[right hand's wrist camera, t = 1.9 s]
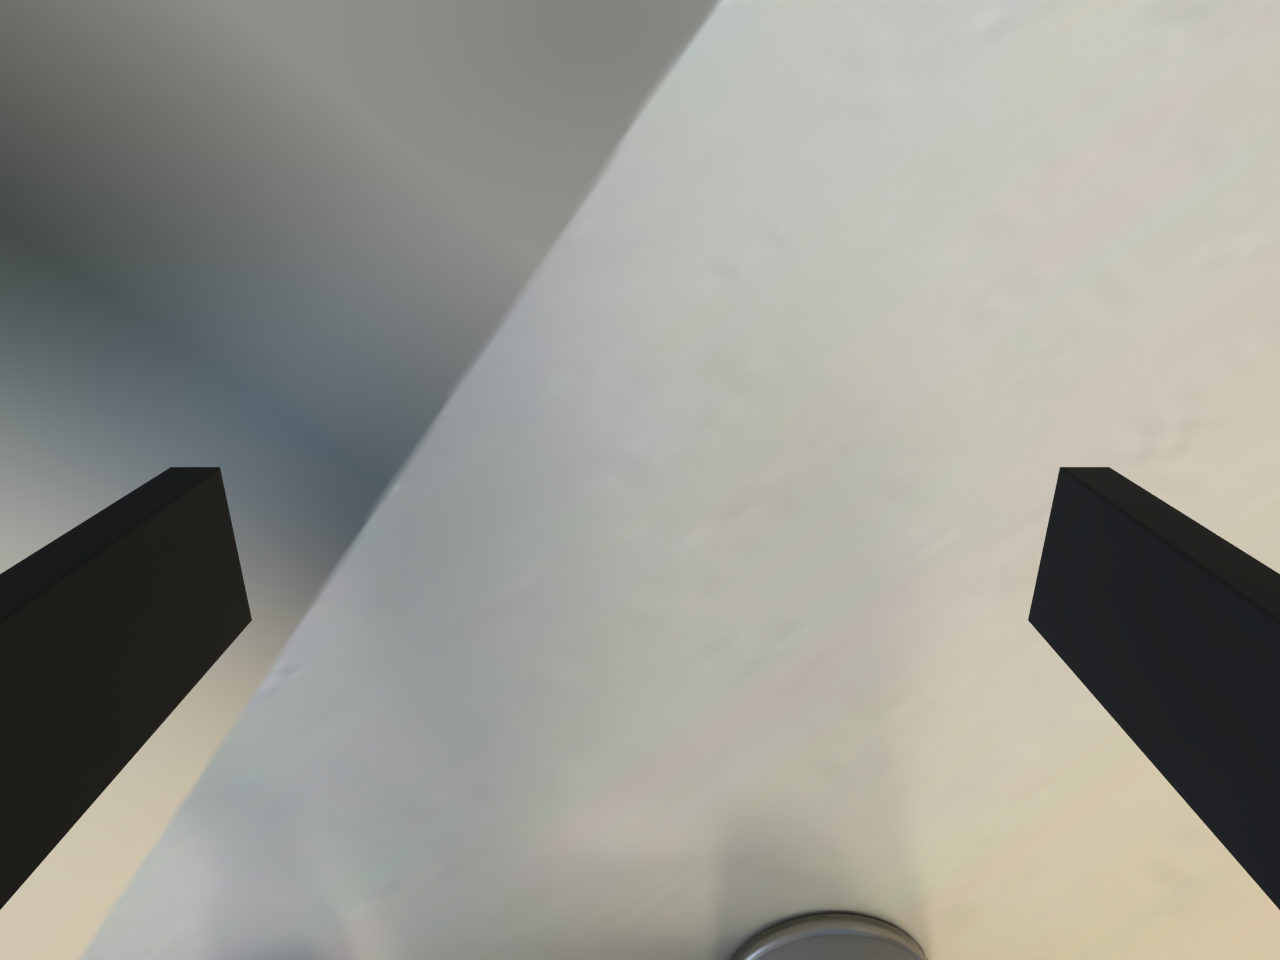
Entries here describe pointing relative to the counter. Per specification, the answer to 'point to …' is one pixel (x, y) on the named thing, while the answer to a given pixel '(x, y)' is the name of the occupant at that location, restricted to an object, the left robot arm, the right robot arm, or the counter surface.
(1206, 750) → the right robot arm
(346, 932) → the counter surface
